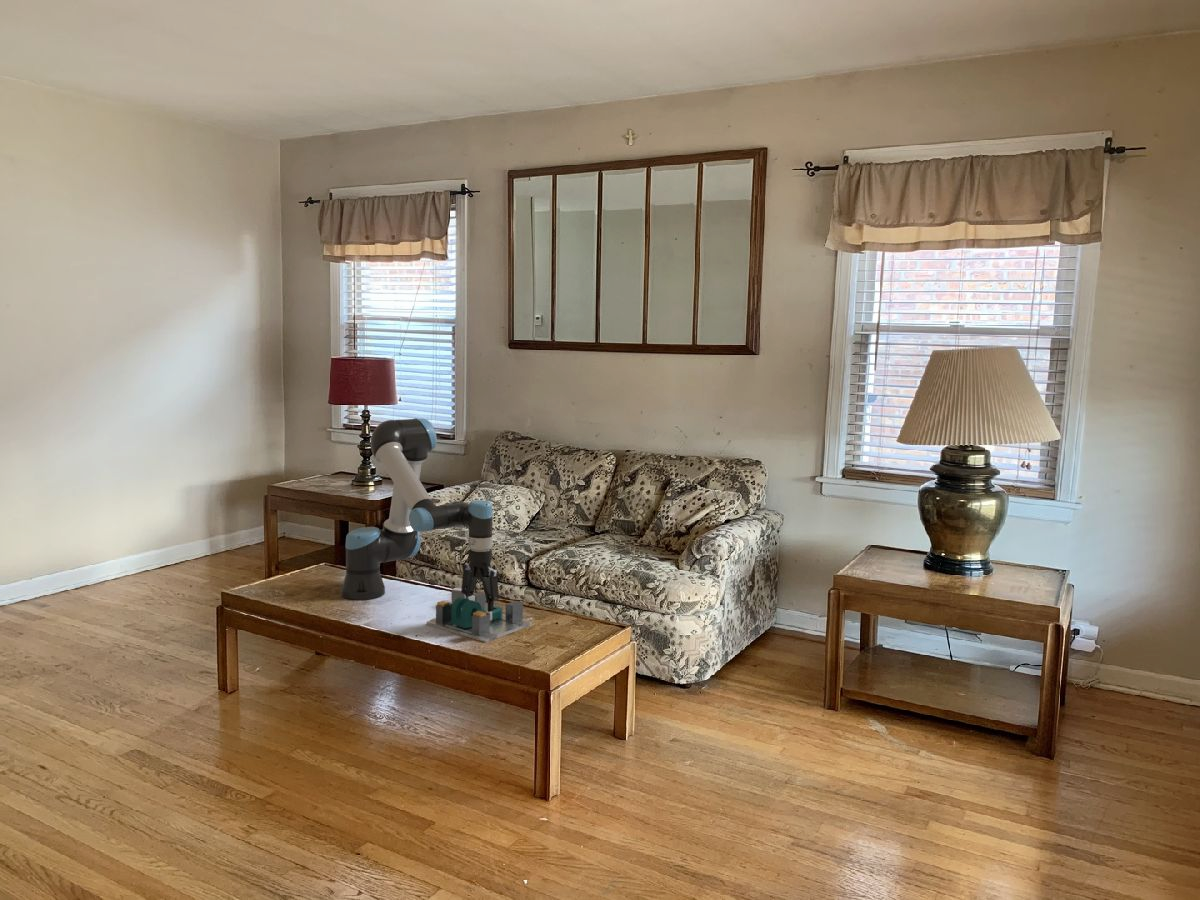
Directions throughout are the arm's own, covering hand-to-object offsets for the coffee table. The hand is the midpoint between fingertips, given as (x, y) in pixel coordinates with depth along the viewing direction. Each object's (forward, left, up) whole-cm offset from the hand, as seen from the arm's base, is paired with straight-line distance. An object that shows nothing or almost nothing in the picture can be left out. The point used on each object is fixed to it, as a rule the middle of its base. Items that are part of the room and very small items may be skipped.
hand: (479, 618), depth 296 cm
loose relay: (-19, +11, -2) cm, 22 cm away
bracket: (0, 0, -1) cm, 1 cm away
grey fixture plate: (0, 0, -2) cm, 2 cm away
